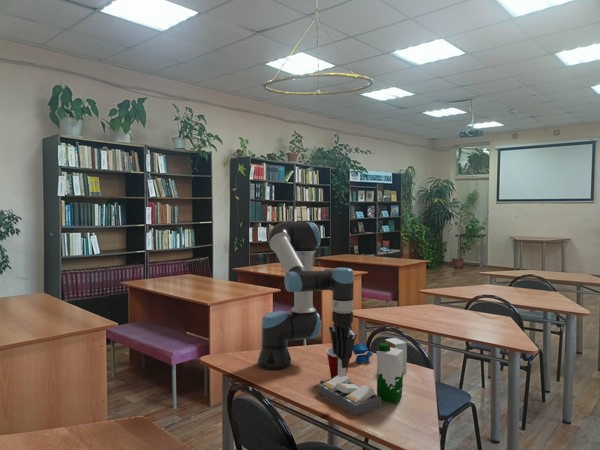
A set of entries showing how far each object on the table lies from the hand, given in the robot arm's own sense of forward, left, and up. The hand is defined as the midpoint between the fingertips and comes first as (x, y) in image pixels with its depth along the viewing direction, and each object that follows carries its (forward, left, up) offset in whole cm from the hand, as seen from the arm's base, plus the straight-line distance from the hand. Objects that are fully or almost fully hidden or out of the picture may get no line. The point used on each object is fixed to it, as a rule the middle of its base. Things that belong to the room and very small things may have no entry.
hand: (342, 375), depth 152 cm
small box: (-12, +41, -10) cm, 43 cm away
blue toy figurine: (-28, +36, -10) cm, 46 cm away
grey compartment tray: (-3, +4, -10) cm, 11 cm away
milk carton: (+7, +17, -10) cm, 21 cm away
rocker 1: (-7, +4, -7) cm, 10 cm away
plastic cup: (-17, +13, -10) cm, 23 cm away
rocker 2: (0, +4, -7) cm, 7 cm away
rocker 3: (+6, +4, -7) cm, 10 cm away
